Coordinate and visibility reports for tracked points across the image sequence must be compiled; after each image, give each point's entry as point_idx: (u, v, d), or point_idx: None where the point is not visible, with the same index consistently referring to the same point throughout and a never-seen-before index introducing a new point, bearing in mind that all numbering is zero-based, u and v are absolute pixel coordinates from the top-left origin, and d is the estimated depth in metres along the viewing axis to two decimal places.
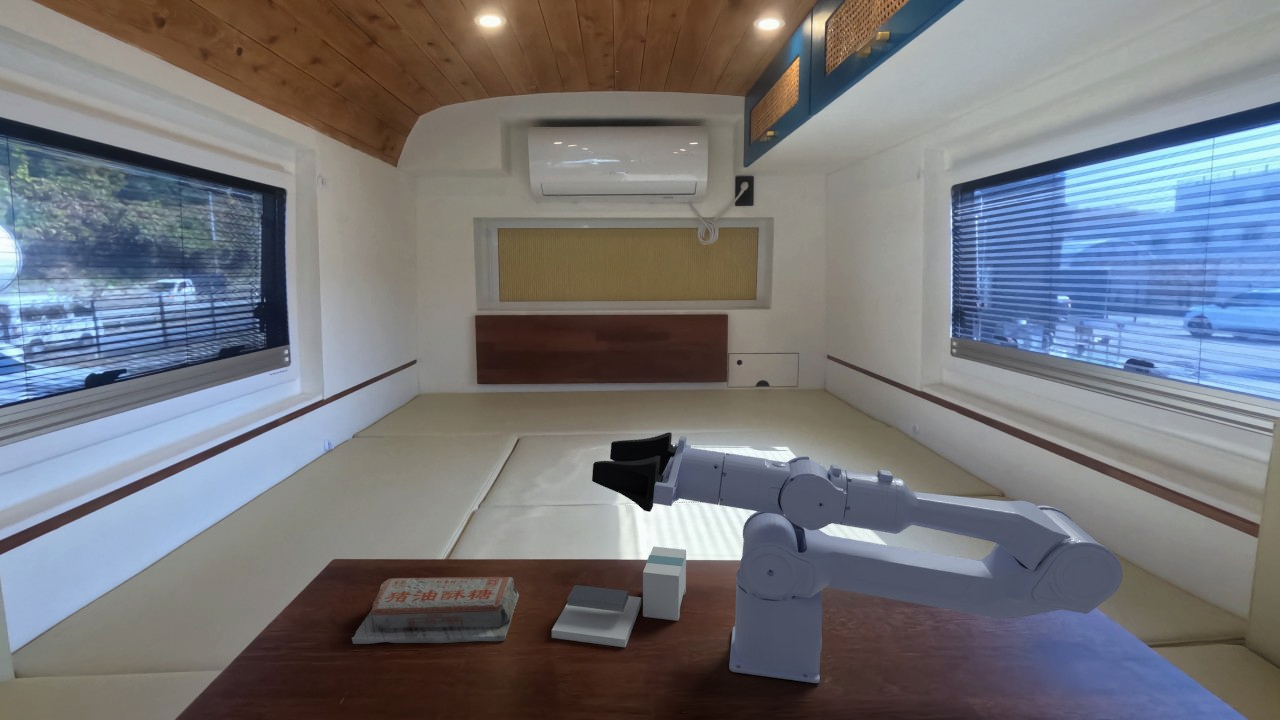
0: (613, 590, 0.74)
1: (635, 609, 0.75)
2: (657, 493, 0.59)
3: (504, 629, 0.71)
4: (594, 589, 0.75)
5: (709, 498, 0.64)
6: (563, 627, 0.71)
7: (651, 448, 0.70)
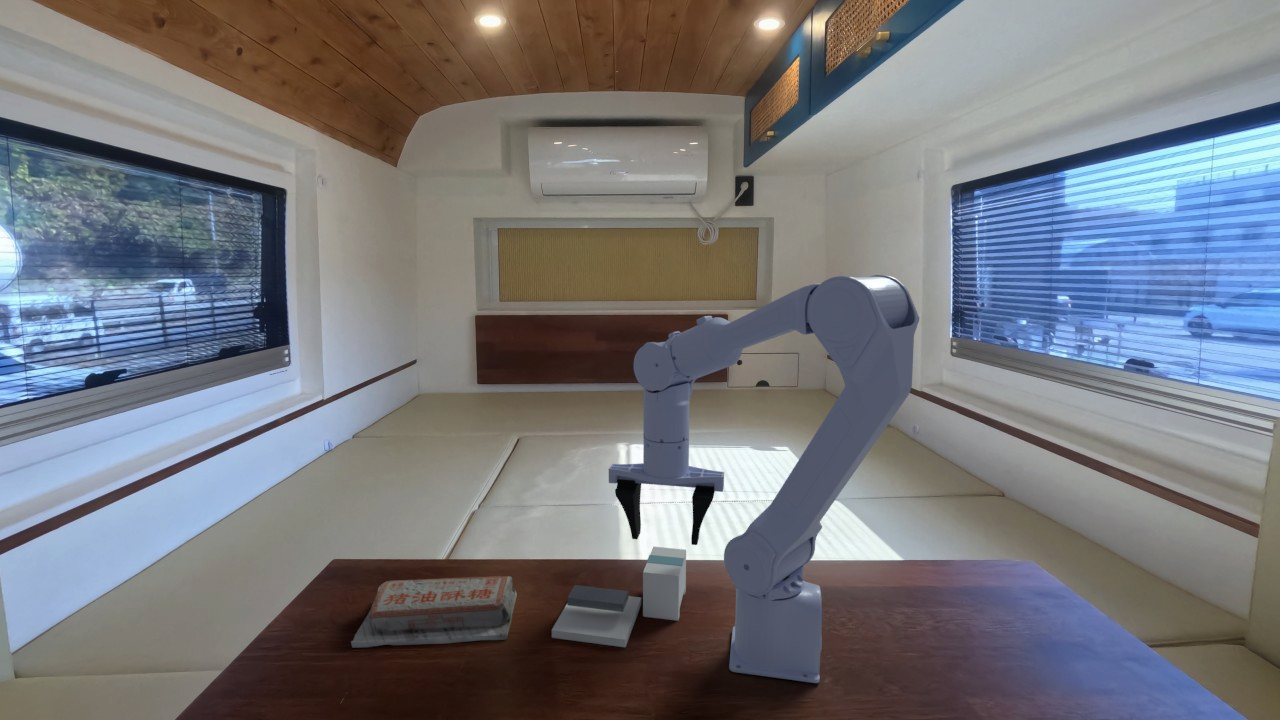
0: (613, 590, 0.74)
1: (635, 609, 0.75)
2: None
3: (505, 627, 0.71)
4: (594, 589, 0.75)
5: (645, 446, 0.74)
6: (563, 627, 0.71)
7: None
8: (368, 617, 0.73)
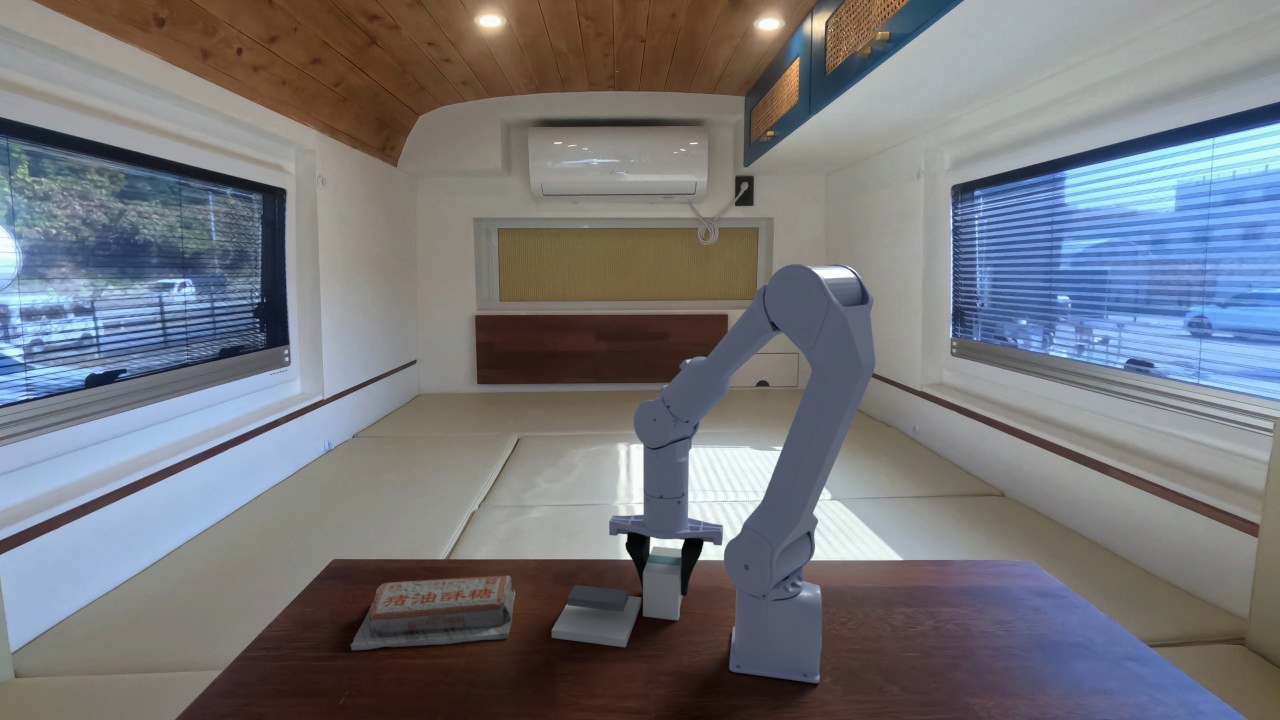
0: (613, 590, 0.74)
1: (635, 609, 0.75)
2: None
3: (506, 626, 0.72)
4: (594, 589, 0.75)
5: (645, 500, 0.75)
6: (563, 627, 0.71)
7: None
8: (366, 619, 0.73)
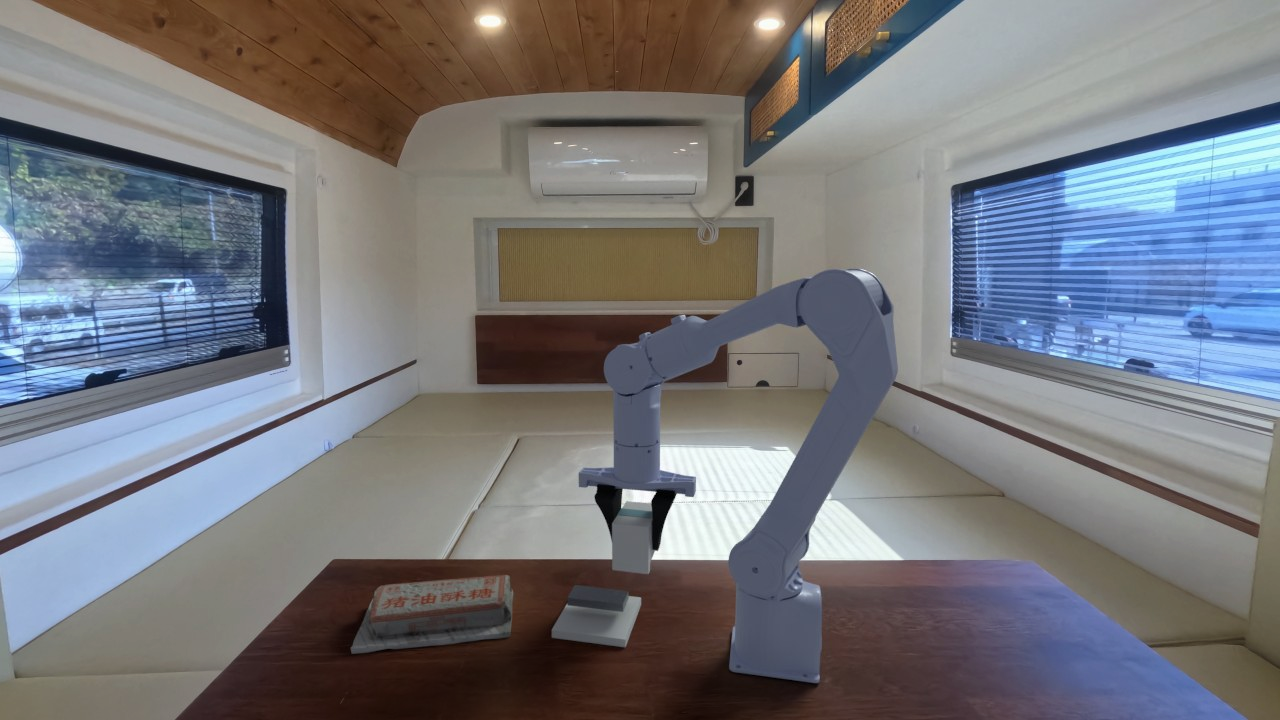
0: (613, 590, 0.74)
1: (635, 609, 0.75)
2: None
3: (508, 625, 0.72)
4: (594, 589, 0.75)
5: (614, 450, 0.72)
6: (563, 627, 0.71)
7: None
8: (364, 622, 0.72)
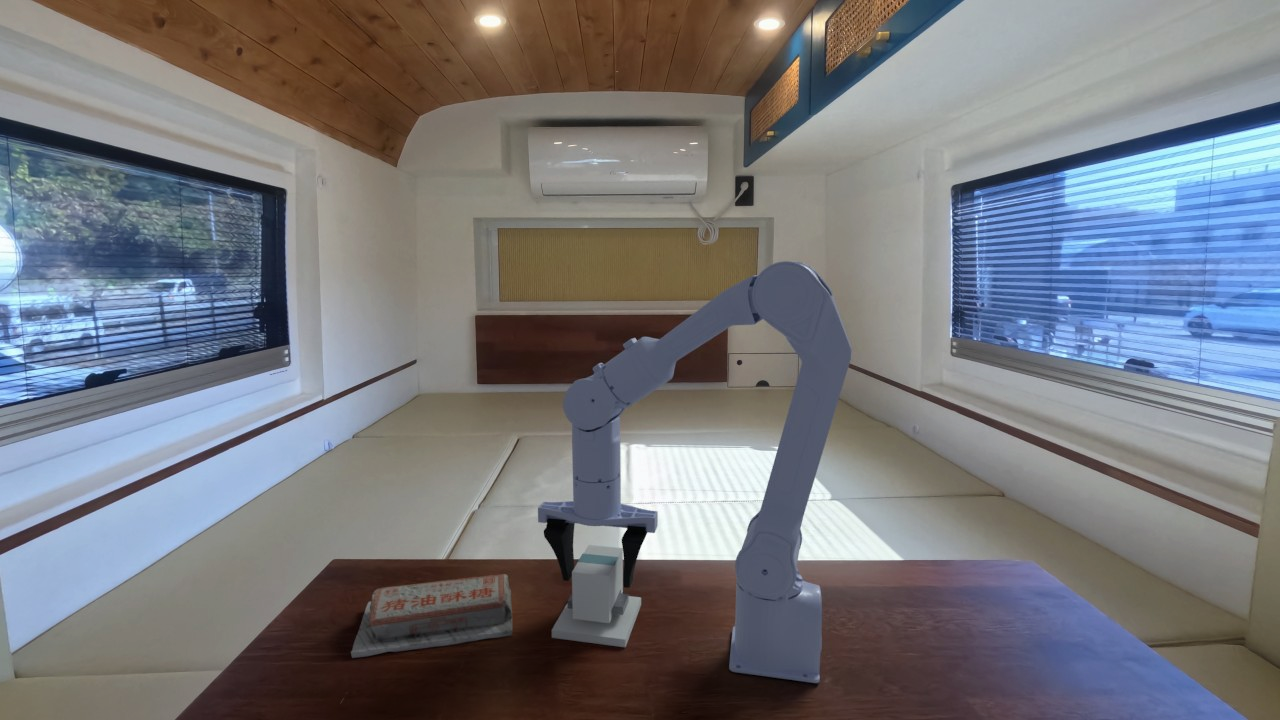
0: None
1: (635, 609, 0.75)
2: None
3: (509, 624, 0.72)
4: None
5: (573, 485, 0.70)
6: (563, 627, 0.71)
7: None
8: (362, 626, 0.71)
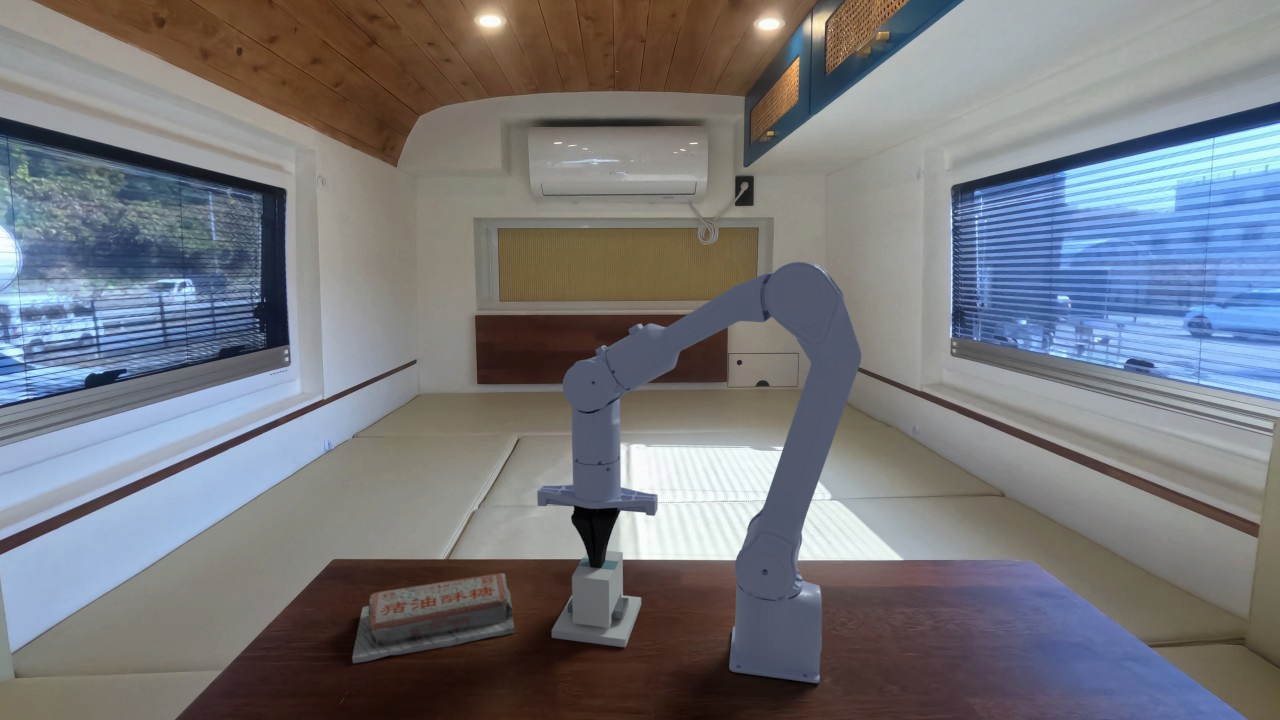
0: None
1: (635, 609, 0.75)
2: None
3: (510, 622, 0.73)
4: None
5: (573, 467, 0.70)
6: (563, 627, 0.71)
7: None
8: (360, 632, 0.70)
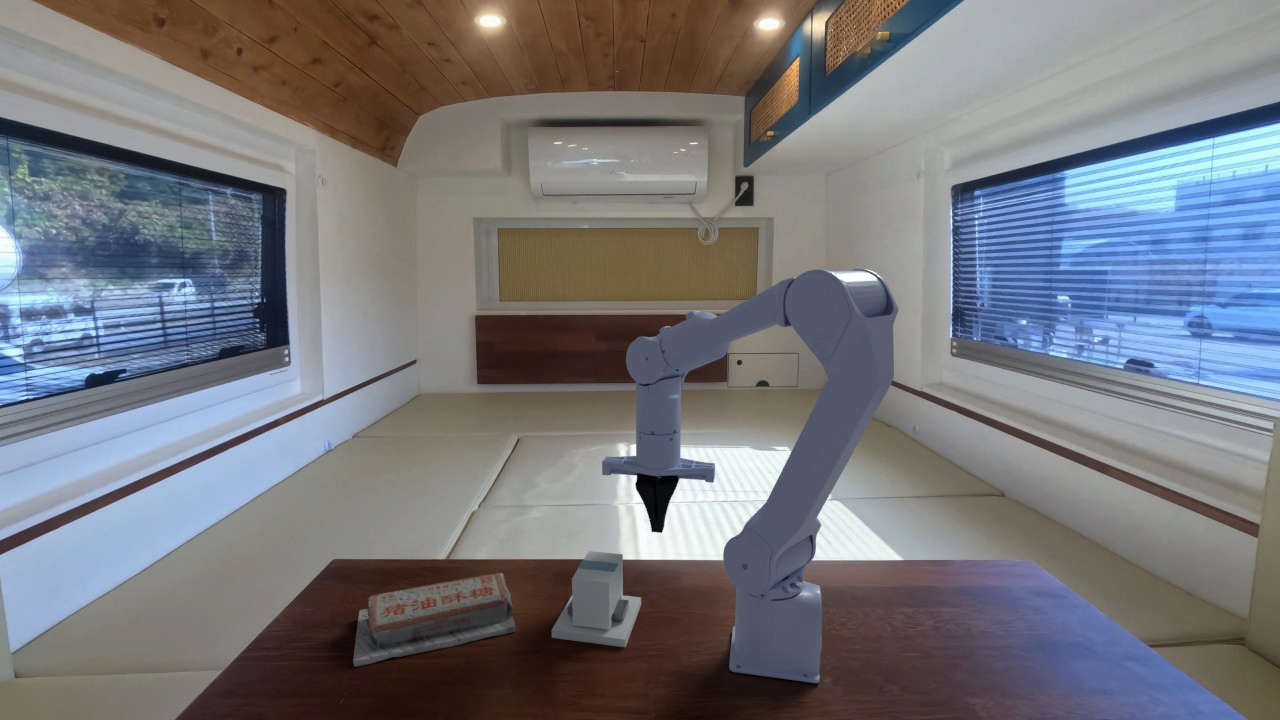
0: None
1: (635, 609, 0.75)
2: None
3: (511, 620, 0.73)
4: None
5: (637, 438, 0.75)
6: (563, 627, 0.71)
7: None
8: (359, 635, 0.70)
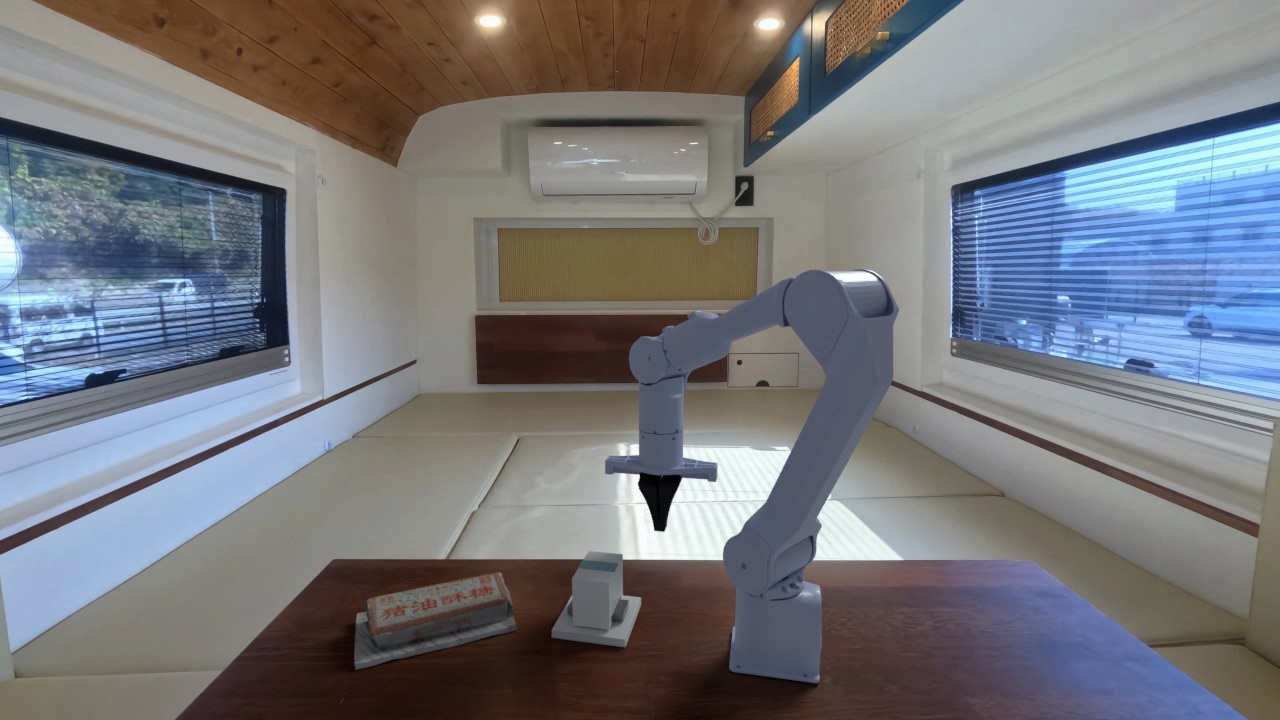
0: None
1: (635, 609, 0.75)
2: None
3: (512, 619, 0.73)
4: None
5: (640, 438, 0.76)
6: (563, 627, 0.71)
7: None
8: (358, 638, 0.69)
